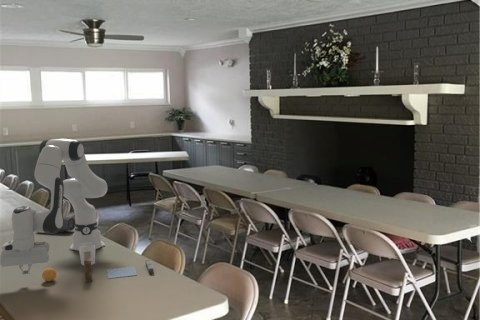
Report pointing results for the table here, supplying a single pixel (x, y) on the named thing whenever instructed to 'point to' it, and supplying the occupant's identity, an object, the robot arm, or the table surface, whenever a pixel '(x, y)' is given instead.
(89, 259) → the bridge
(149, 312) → the table surface
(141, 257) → the table surface
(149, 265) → the grey rectangular bar
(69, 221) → the bluetooth speaker
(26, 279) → the table surface
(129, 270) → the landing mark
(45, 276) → the ball
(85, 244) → the white cup
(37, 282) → the table surface
